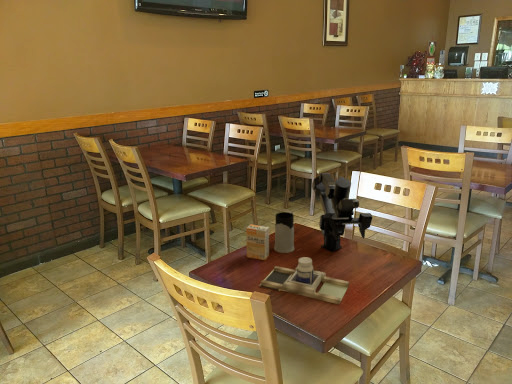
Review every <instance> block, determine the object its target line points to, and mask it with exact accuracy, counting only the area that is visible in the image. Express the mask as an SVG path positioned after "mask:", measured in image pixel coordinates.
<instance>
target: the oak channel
mask: <svg viewBox="0 0 512 384" xmlns="http://www.w3.org/2000/svg"><path fill="white" fill-rule="evenodd" d="M273 270H274V271H278V272H282V273H287V274H292V275H293V274H294V273H295V272H296V270H297V266H296V267H295V269H293V268H287V267H283V266H277V265H275V266H274V267H273ZM313 273H317V274H321V282H322V283H325V282H326V283H331V284H335V285H340V286H344V287H348V288H349V285H350V281H346V280H342V279H338V278H334V277H329V276H326V275H327V273H326V272H323V271H319V270H314V269H313ZM321 282H320V283H321ZM260 284H261V285H263V286H267V287H271V288H275V289H280V291H283V292H285V293H286V292H287V293H290V294H295V295H298V296H302V297H306V298H311V299H315V300H318V301H324V302H328V303H332V304H336V305H340V304H341V301H342V300H341V298H338V297H334V296H330V295H325V294H321V293H318V292H316V290H317V288H313V287H308V286H304V285H300V284H295V283H291V282H288V281H287V282H286V281H285V282H284V283H283V284H279V283H274V282H270V281H266V280H264V279H262V280H261V281H260Z"/></svg>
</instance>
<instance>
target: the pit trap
mask: <svg viewBox="0 0 512 384" xmlns="http://www.w3.org/2000/svg"><path fill="white" fill-rule="evenodd" d="M291 277H292V274H287V273H282V272H278V271H274V269H272V270H271V272H270V273H269V274H268V275H267V276H266V277H265V278H264V279H263V280H266V281H270V282H274V283H279V284H283V283H284V282H285V281H286V282H288V280H289V279H290V278H291ZM258 286H259V287H262V288H266V289H270V290H273V291H279V292H281V290H280V289H275V288H271V287H267V286H263V285H261V283H260V284H259V285H258Z"/></svg>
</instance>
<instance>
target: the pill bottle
mask: <svg viewBox="0 0 512 384" xmlns="http://www.w3.org/2000/svg"><path fill="white" fill-rule="evenodd" d="M297 261H298V264H297V266H296V267H297V280H296V282H300V283H305V284H309V285H312V284H313V283H314V280H313V270H314V265H313V260H312V258H311V257H305V256H303V257H300V258H298V260H297Z"/></svg>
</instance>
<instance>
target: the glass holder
mask: <svg viewBox="0 0 512 384" xmlns="http://www.w3.org/2000/svg"><path fill="white" fill-rule="evenodd" d="M294 216H295V215H294V213H293V212H292V211H290V212H287V211H285V212H284V211H282V212H278V213H276V214H275V224H274V225H275V226H274V246H273V249H274V251H275V252H277V253H281V254H286V253H287V254H288V253H289V254H290V253H291V252H293V251H295V246H294V241H295V240H294V239H295V225H294Z"/></svg>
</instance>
